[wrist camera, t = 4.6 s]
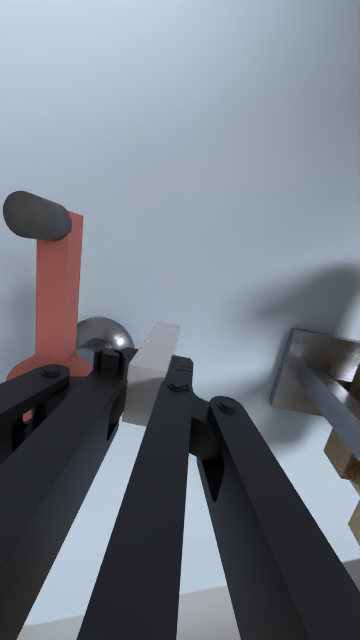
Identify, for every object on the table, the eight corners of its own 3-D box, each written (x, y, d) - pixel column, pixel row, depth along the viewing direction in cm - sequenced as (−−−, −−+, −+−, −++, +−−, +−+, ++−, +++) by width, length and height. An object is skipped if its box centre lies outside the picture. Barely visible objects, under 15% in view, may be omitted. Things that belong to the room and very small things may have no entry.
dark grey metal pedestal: (70, 311, 24) (18, 332, 17) (138, 324, 23) (113, 351, 17) (67, 373, 26) (19, 414, 19) (130, 386, 25) (104, 432, 19)
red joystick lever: (22, 200, 14) (-40, 180, 11) (118, 217, 14) (88, 202, 10) (23, 412, 19) (-22, 451, 15) (98, 427, 18) (71, 471, 15)
